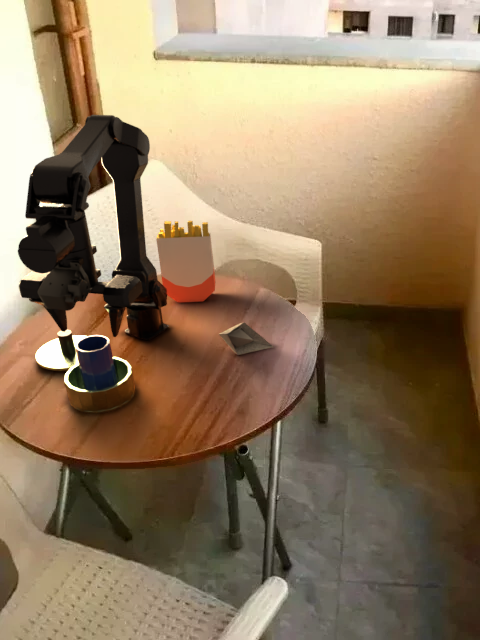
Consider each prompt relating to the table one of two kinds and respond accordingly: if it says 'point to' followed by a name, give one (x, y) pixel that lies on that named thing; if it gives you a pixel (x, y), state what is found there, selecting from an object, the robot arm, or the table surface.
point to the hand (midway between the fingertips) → (90, 333)
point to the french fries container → (186, 262)
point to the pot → (101, 390)
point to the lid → (59, 352)
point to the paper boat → (244, 339)
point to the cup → (96, 362)
